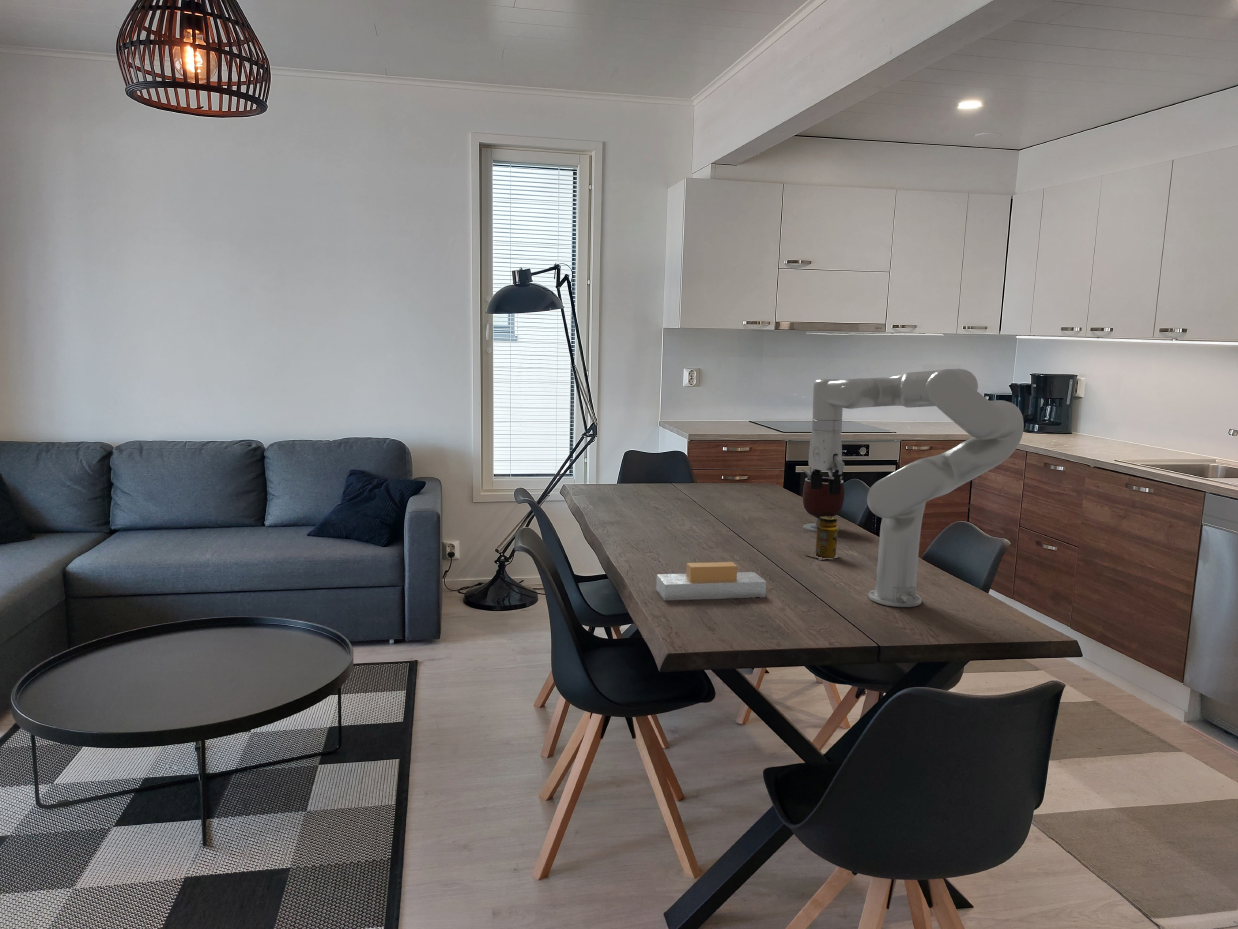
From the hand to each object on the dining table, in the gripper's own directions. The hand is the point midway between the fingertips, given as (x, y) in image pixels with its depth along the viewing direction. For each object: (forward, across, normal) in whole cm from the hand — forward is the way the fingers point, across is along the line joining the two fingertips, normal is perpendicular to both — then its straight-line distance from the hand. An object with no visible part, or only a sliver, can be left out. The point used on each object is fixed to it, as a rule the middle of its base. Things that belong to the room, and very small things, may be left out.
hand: (824, 491), depth 224 cm
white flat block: (+24, +4, -33) cm, 41 cm away
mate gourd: (+24, -62, +32) cm, 73 cm away
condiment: (+25, -26, +14) cm, 38 cm away
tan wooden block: (+24, +4, -33) cm, 41 cm away
